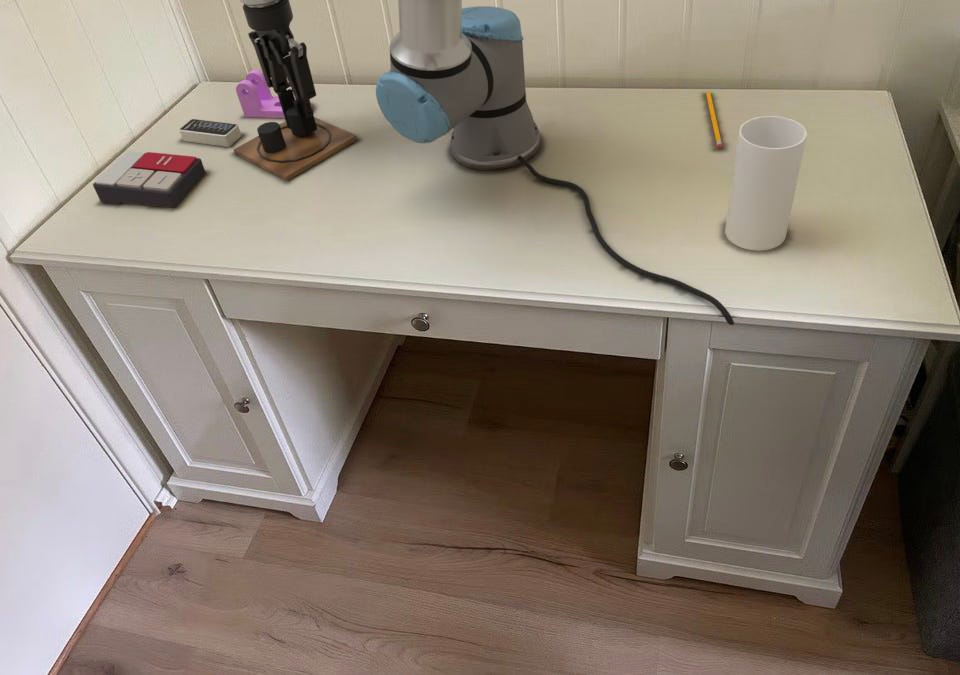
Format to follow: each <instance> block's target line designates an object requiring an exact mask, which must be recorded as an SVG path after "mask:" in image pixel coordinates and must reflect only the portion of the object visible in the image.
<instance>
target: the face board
mask: <svg viewBox="0 0 960 675" xmlns="http://www.w3.org/2000/svg"><path fill="white" fill-rule="evenodd" d="M314 119H315V122H316V126H317V130H316V131H314V132H312V133H310V134H309V135H307V136H305V135H301V136H297V135H294V134H292V131H291V129H289V128H288V127H287V123H286V120H284V121H283V122H281V123H278V124H279V125H280V128H281V131H282V134H283V138H284V141H285V144H286V146H285V148H284V149H283V150H281V151H279V152H276V153H266V152H265V151H264V149H263V146H262V143H261V140H260V137H259V135H257V136H255V137H254V138H252V139H250V140H248V141H245V142H244V143H243V144H240V145H238V146H237V147H235V148H233V152H234V155H237V156H238V157H240V158H241V159H244V160H245V161H247V162H249V163H251V164H254V165H255V166H257V167H259V168H261V169H263V170H265V171H267V172H268V173H271V174H272V175H274V176H276V177H278V178H280V179H282V180H284V181H286V182H289V181H290V180H292V179H294V178H295V177H297V176H299V175H301V174H302V173H305V171H307V170H309V169H311V168H313V167H314V166H317V165H318V164H319V163H321V162H322V161H324V160H326V159H327V158H329V157H331V156H333V155H334V154H336V153H338V152H340V151H341V150H343V149H344V148H346V147H348V146H350V145H351V144H353V143H355V142H357V141H358V138H357V135H356V134H354V133H352V132H350V131H347V130H345V129H343V128H340V127H338V126H336V125H333V124H332V123H329V122H326V121H324V120H323V119H320V118H317V117H315V116H314Z"/></svg>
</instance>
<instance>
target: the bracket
mask: <svg viewBox="0 0 960 675" xmlns="http://www.w3.org/2000/svg"><path fill="white" fill-rule="evenodd" d="M235 93H236V95H237V98H238V101H239V104H240V107H241V110H242V113H243V115H244V118H267V119H268V118H269V119H270V118H271V119H285V117H284V114H283V110H282V107H281V104H280V101H279V98H278V96H273V95H272V92H271V88H269V87H268V86H267V84H266V81H265V78H264V75H263V72H262V71H260V70H259V69H252V70H251V71H250V72H248V73H247V75H246V76H245V79H243V80H241V81H240V82H239V83H237V85H236V87H235ZM294 98H295V96H294ZM295 100H296V98H295ZM310 103H311V107H312V108H313V106H312V102H311V101H310Z"/></svg>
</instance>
